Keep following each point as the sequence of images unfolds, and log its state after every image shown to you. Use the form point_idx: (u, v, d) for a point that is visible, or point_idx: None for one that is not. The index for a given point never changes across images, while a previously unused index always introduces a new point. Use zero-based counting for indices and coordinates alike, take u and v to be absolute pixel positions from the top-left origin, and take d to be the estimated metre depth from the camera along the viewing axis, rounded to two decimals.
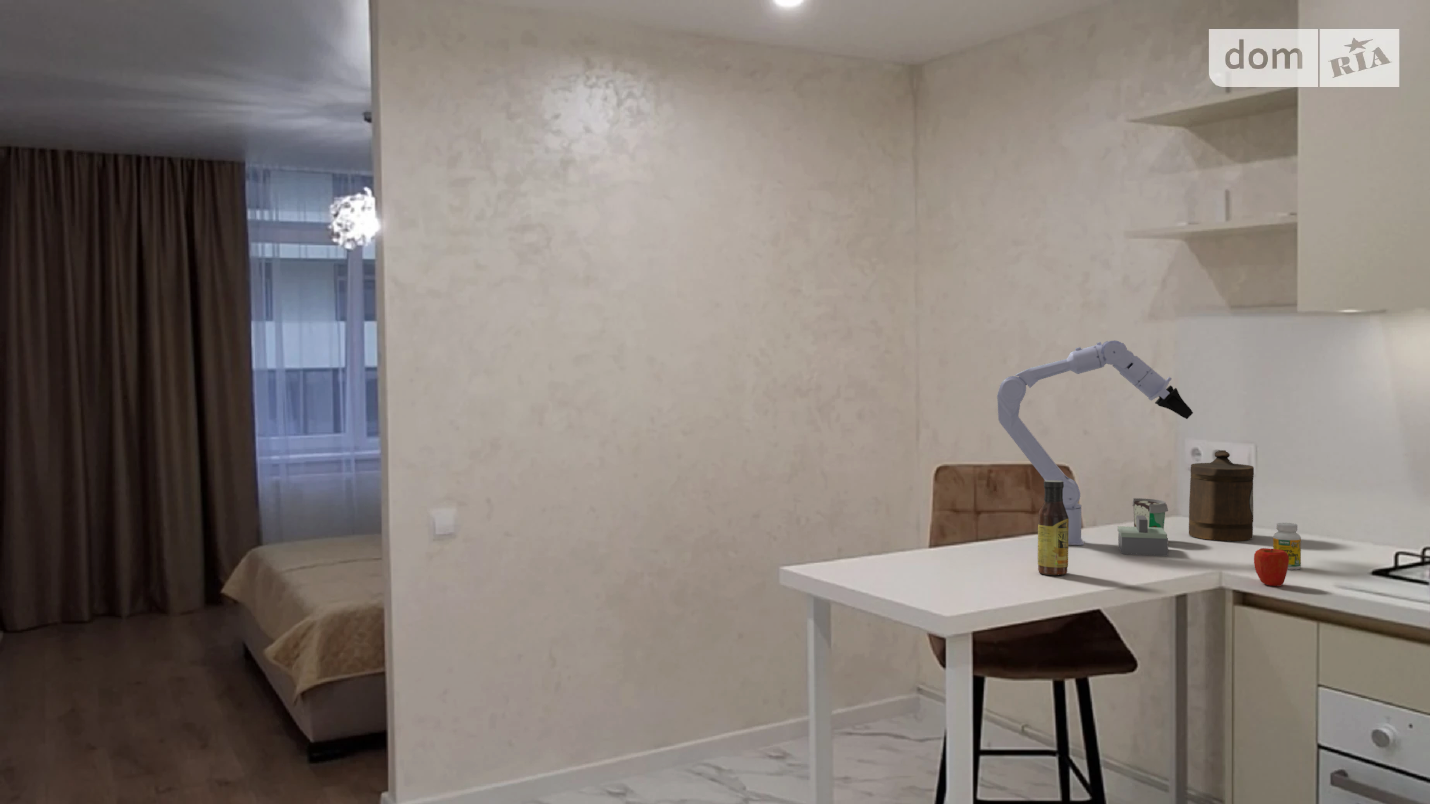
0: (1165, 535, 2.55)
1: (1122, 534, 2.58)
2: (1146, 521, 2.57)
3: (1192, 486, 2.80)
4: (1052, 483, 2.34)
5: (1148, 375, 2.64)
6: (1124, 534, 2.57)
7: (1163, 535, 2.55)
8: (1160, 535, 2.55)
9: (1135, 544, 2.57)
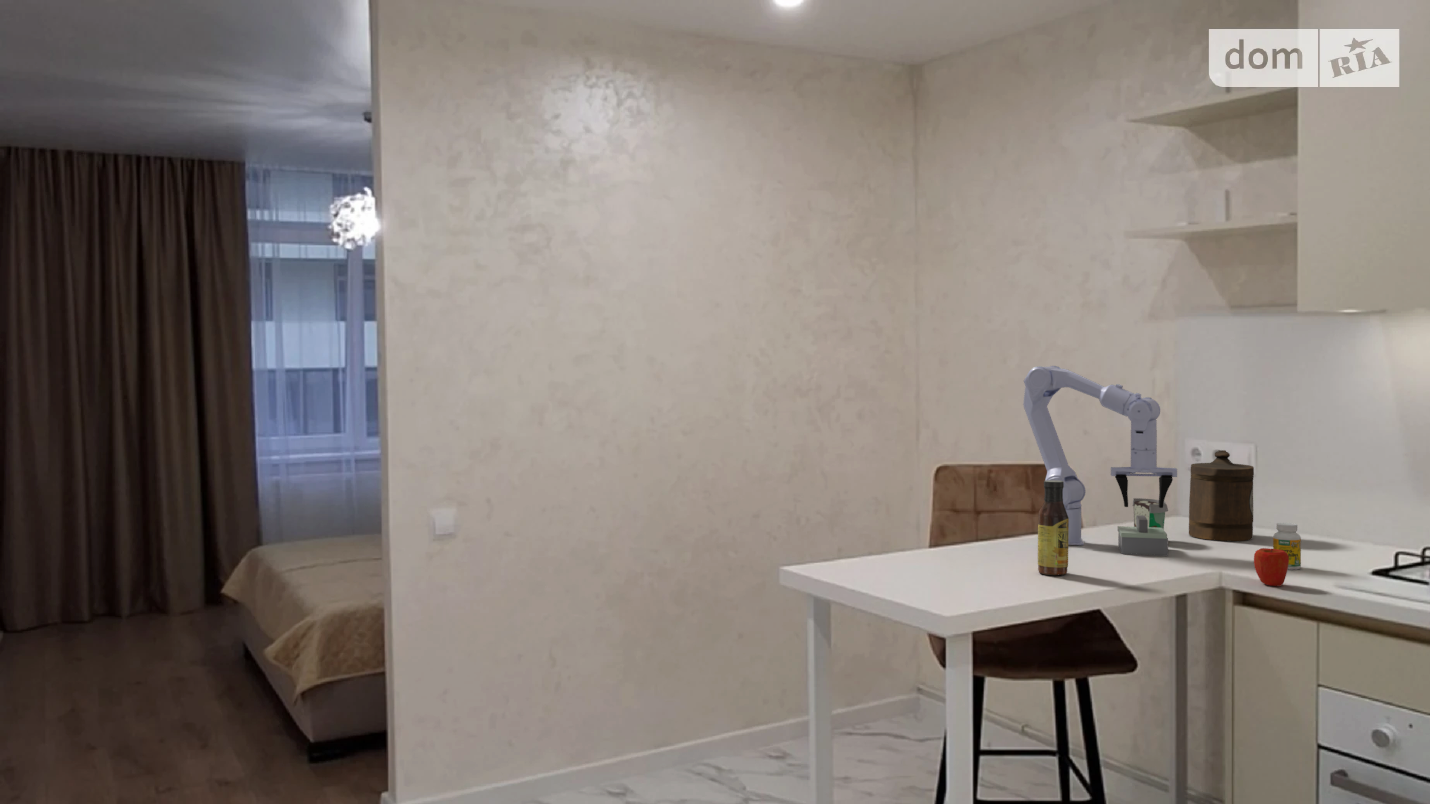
0: (1165, 535, 2.55)
1: (1122, 534, 2.58)
2: (1146, 521, 2.57)
3: (1192, 486, 2.80)
4: (1052, 483, 2.34)
5: (1132, 451, 2.60)
6: (1124, 534, 2.57)
7: (1163, 535, 2.55)
8: (1160, 535, 2.55)
9: (1135, 544, 2.57)
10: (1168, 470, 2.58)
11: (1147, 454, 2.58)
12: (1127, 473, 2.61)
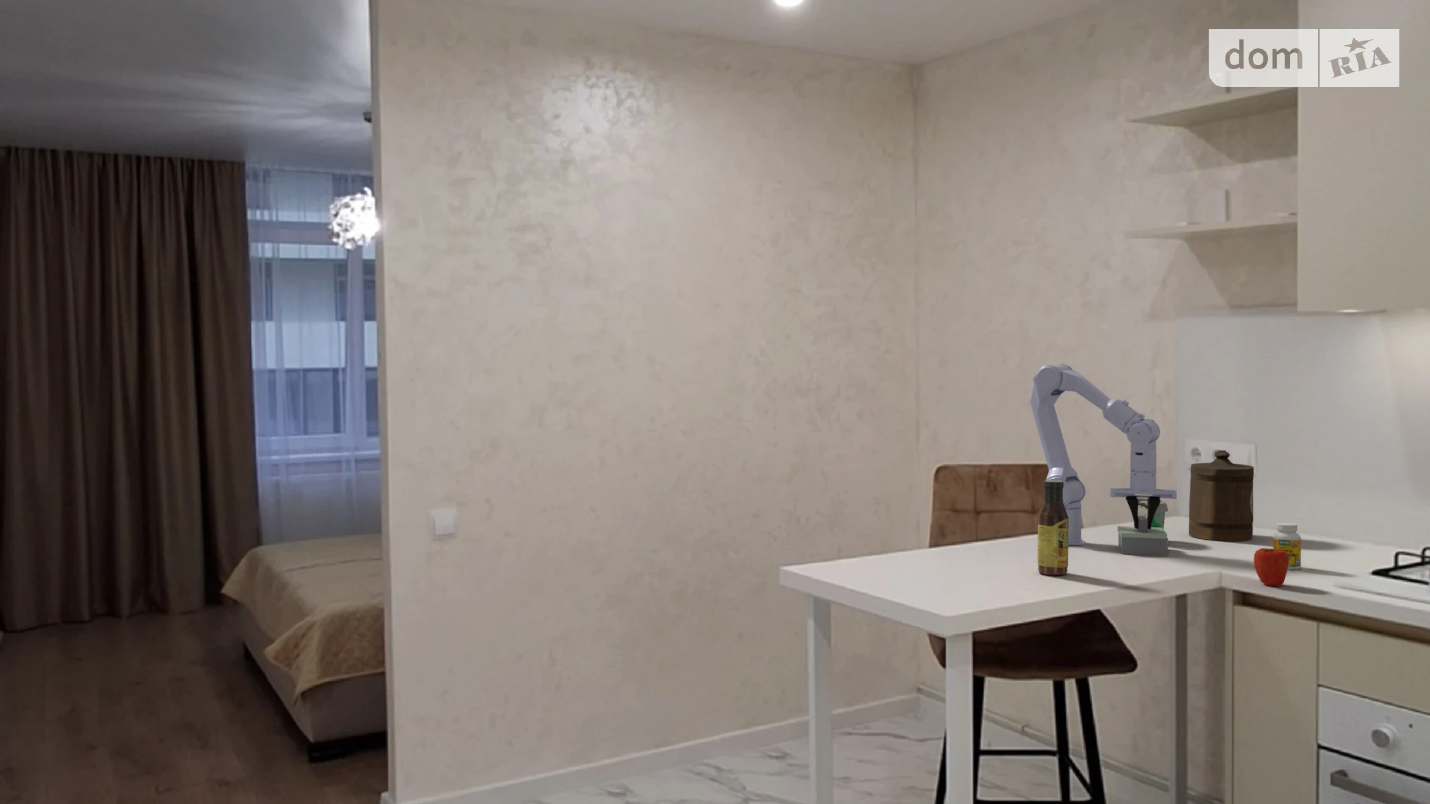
0: (1165, 535, 2.55)
1: (1122, 534, 2.58)
2: (1146, 521, 2.57)
3: (1192, 486, 2.80)
4: (1052, 483, 2.34)
5: (1131, 473, 2.60)
6: (1124, 534, 2.57)
7: (1163, 535, 2.55)
8: (1160, 535, 2.55)
9: (1135, 544, 2.57)
10: (1167, 492, 2.58)
11: (1146, 476, 2.58)
12: (1126, 494, 2.62)
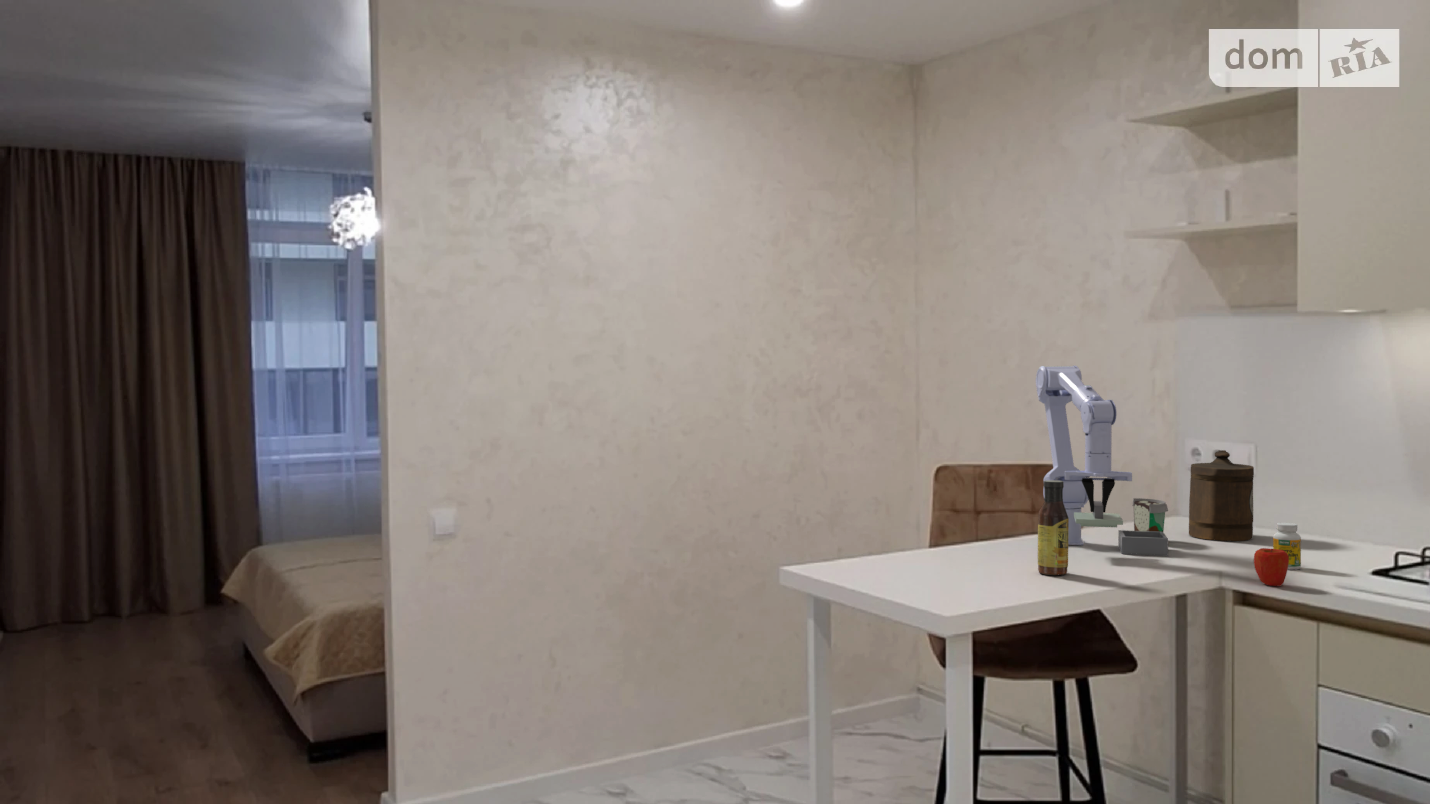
0: (1121, 521, 2.48)
1: (1077, 520, 2.51)
2: (1102, 507, 2.51)
3: (1192, 486, 2.80)
4: (1052, 483, 2.34)
5: (1086, 454, 2.54)
6: (1079, 520, 2.51)
7: (1119, 521, 2.49)
8: (1116, 521, 2.49)
9: (1135, 544, 2.57)
10: (1123, 474, 2.51)
11: (1101, 458, 2.51)
12: (1081, 477, 2.55)
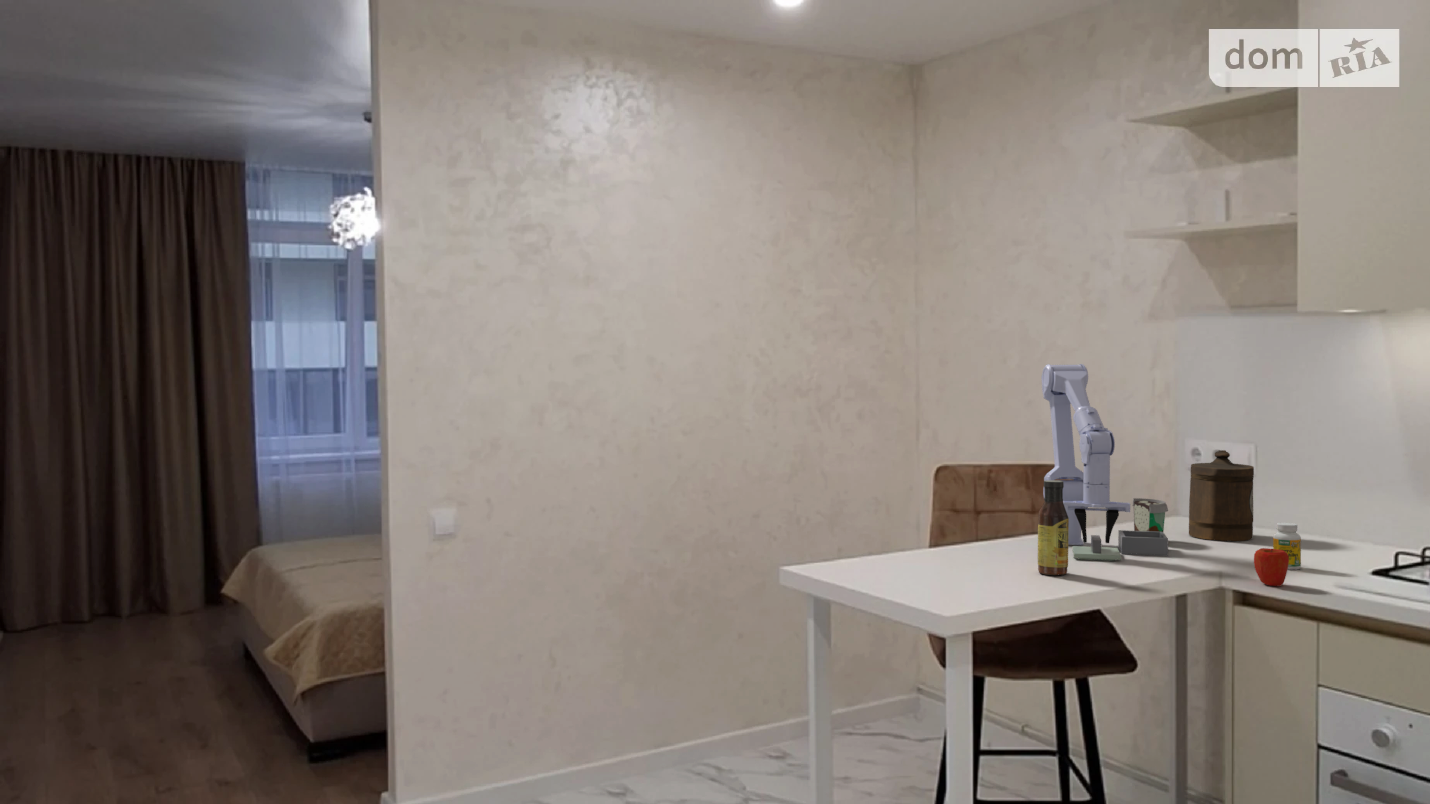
0: (1119, 556, 2.49)
1: (1075, 555, 2.51)
2: (1100, 541, 2.51)
3: (1192, 486, 2.80)
4: (1052, 483, 2.34)
5: (1084, 485, 2.54)
6: (1077, 555, 2.51)
7: (1117, 556, 2.49)
8: (1114, 556, 2.49)
9: (1135, 544, 2.57)
10: (1121, 505, 2.52)
11: (1099, 488, 2.51)
12: (1079, 507, 2.55)
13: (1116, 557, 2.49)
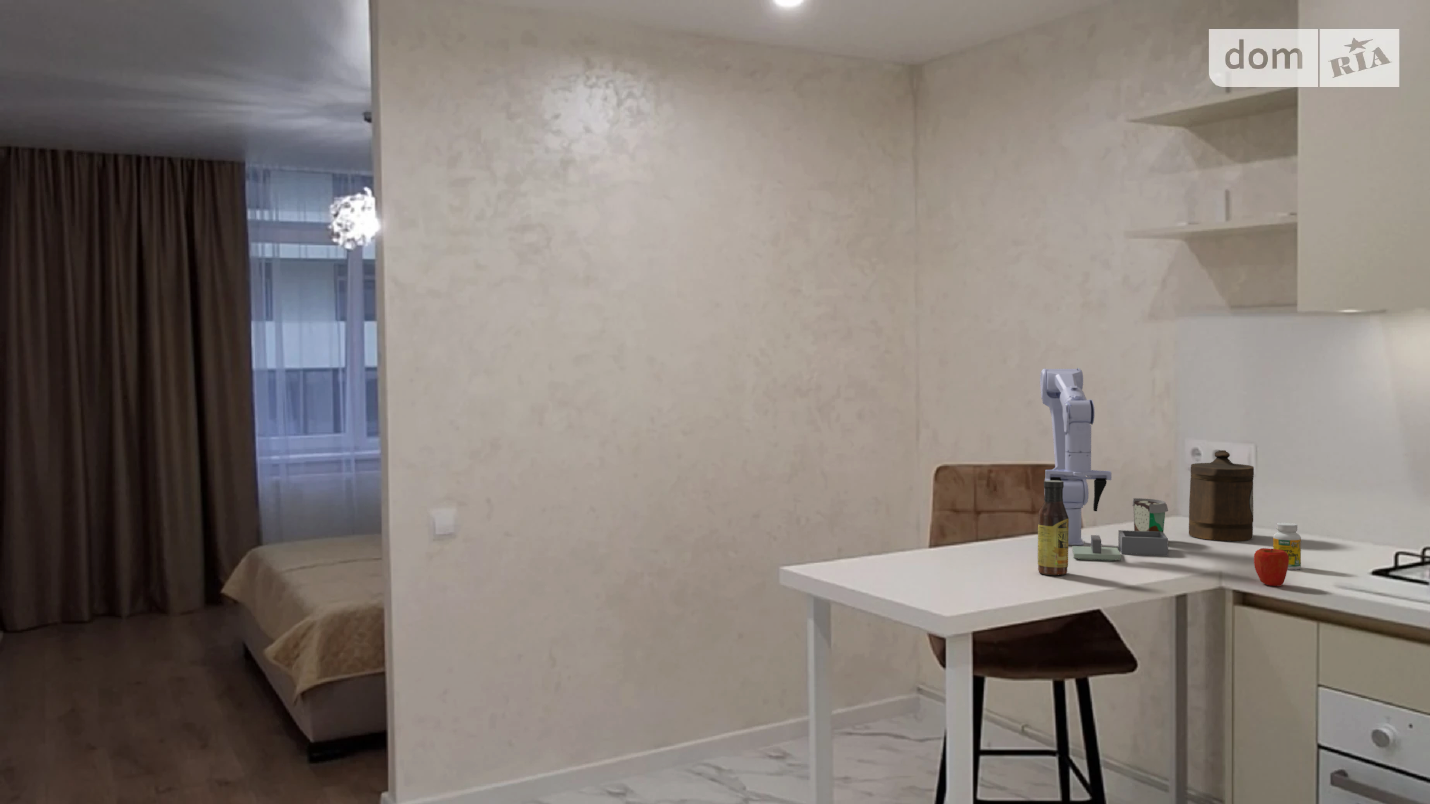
0: (1119, 556, 2.49)
1: (1075, 555, 2.51)
2: (1100, 541, 2.51)
3: (1192, 486, 2.80)
4: (1052, 483, 2.34)
5: (1066, 454, 2.56)
6: (1077, 555, 2.51)
7: (1117, 556, 2.49)
8: (1114, 556, 2.49)
9: (1135, 544, 2.57)
10: (1102, 473, 2.54)
11: (1081, 457, 2.54)
12: (1061, 476, 2.58)
13: (1116, 557, 2.49)
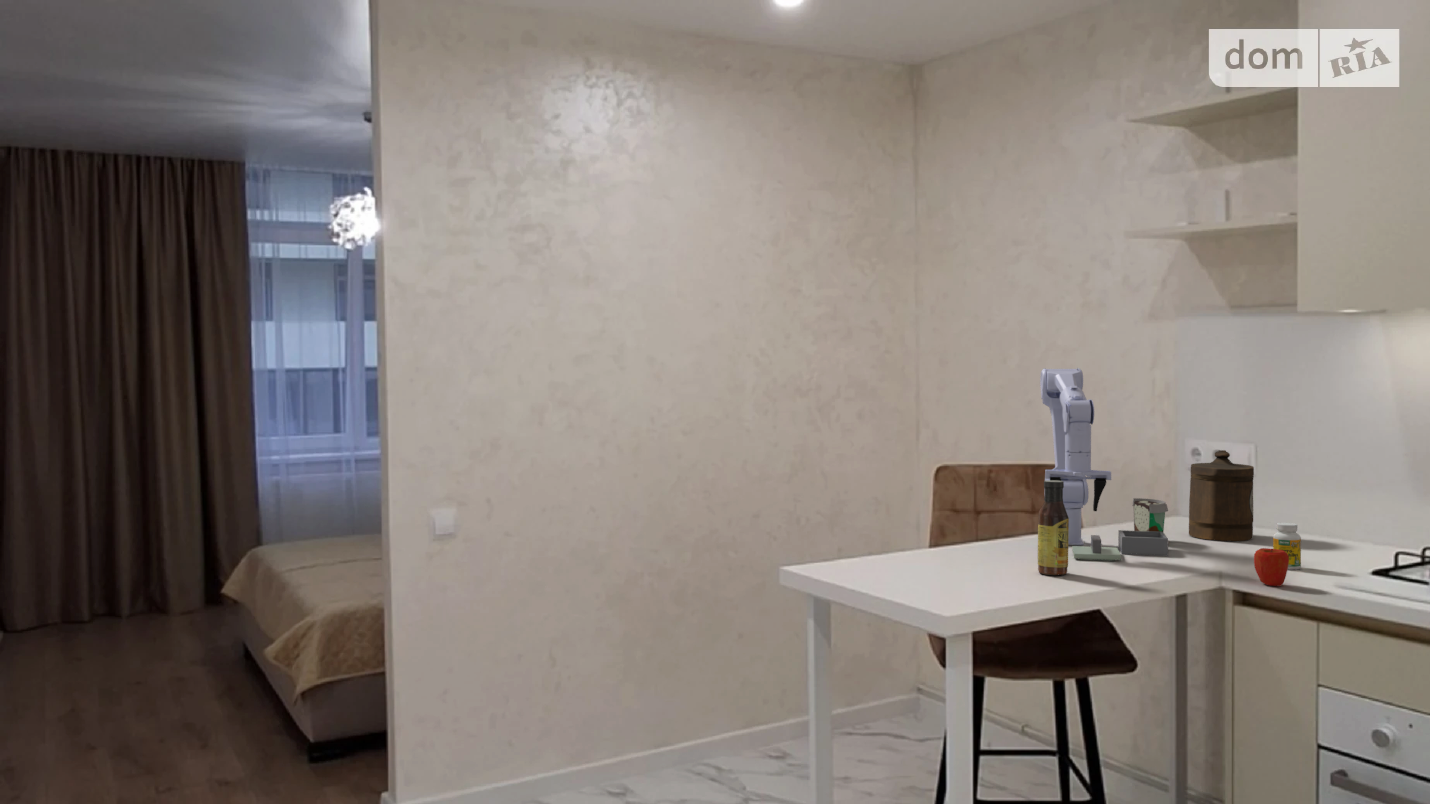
0: (1119, 556, 2.49)
1: (1075, 555, 2.51)
2: (1100, 542, 2.51)
3: (1192, 486, 2.80)
4: (1052, 483, 2.34)
5: (1066, 453, 2.56)
6: (1077, 555, 2.51)
7: (1117, 556, 2.49)
8: (1114, 556, 2.49)
9: (1135, 544, 2.57)
10: (1102, 473, 2.54)
11: (1081, 457, 2.54)
12: (1061, 476, 2.58)
13: (1116, 557, 2.49)
